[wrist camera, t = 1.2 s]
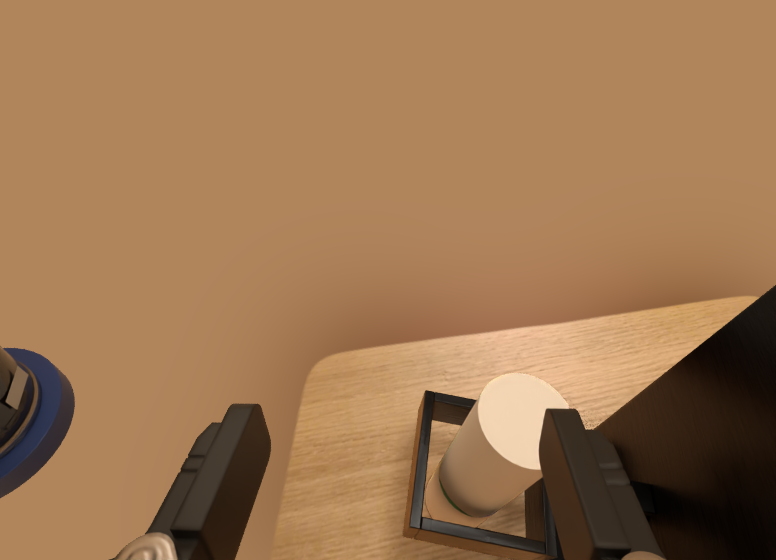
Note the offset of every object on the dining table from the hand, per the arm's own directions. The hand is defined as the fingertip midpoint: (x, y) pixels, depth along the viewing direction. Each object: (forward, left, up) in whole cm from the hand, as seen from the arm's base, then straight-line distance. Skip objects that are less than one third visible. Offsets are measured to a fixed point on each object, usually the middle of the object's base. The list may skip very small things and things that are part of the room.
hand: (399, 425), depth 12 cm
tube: (+6, +4, -21) cm, 22 cm away
